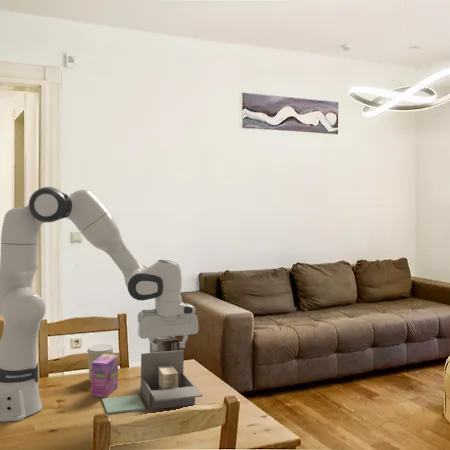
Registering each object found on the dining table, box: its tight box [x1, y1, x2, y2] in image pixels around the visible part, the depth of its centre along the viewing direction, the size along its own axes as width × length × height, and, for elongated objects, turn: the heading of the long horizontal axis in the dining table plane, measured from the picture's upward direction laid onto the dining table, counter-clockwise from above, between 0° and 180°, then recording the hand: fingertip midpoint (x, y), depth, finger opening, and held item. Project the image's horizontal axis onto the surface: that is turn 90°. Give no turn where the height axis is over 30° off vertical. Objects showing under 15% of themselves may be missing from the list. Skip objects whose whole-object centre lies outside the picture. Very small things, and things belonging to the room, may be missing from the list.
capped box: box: [157, 365, 178, 390], centre depth 183 cm, size 5×9×10 cm, turn 20°
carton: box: [140, 349, 203, 411], centre depth 179 cm, size 15×23×14 cm, turn 20°
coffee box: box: [149, 336, 180, 353], centre depth 200 cm, size 9×6×16 cm
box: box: [90, 353, 119, 398], centre depth 189 cm, size 10×6×12 cm, turn 168°
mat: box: [101, 394, 146, 415], centre depth 177 cm, size 12×12×1 cm
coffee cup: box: [87, 344, 114, 383], centre depth 201 cm, size 9×9×12 cm
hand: (168, 348), depth 182 cm, fingers open, 8 cm apart
